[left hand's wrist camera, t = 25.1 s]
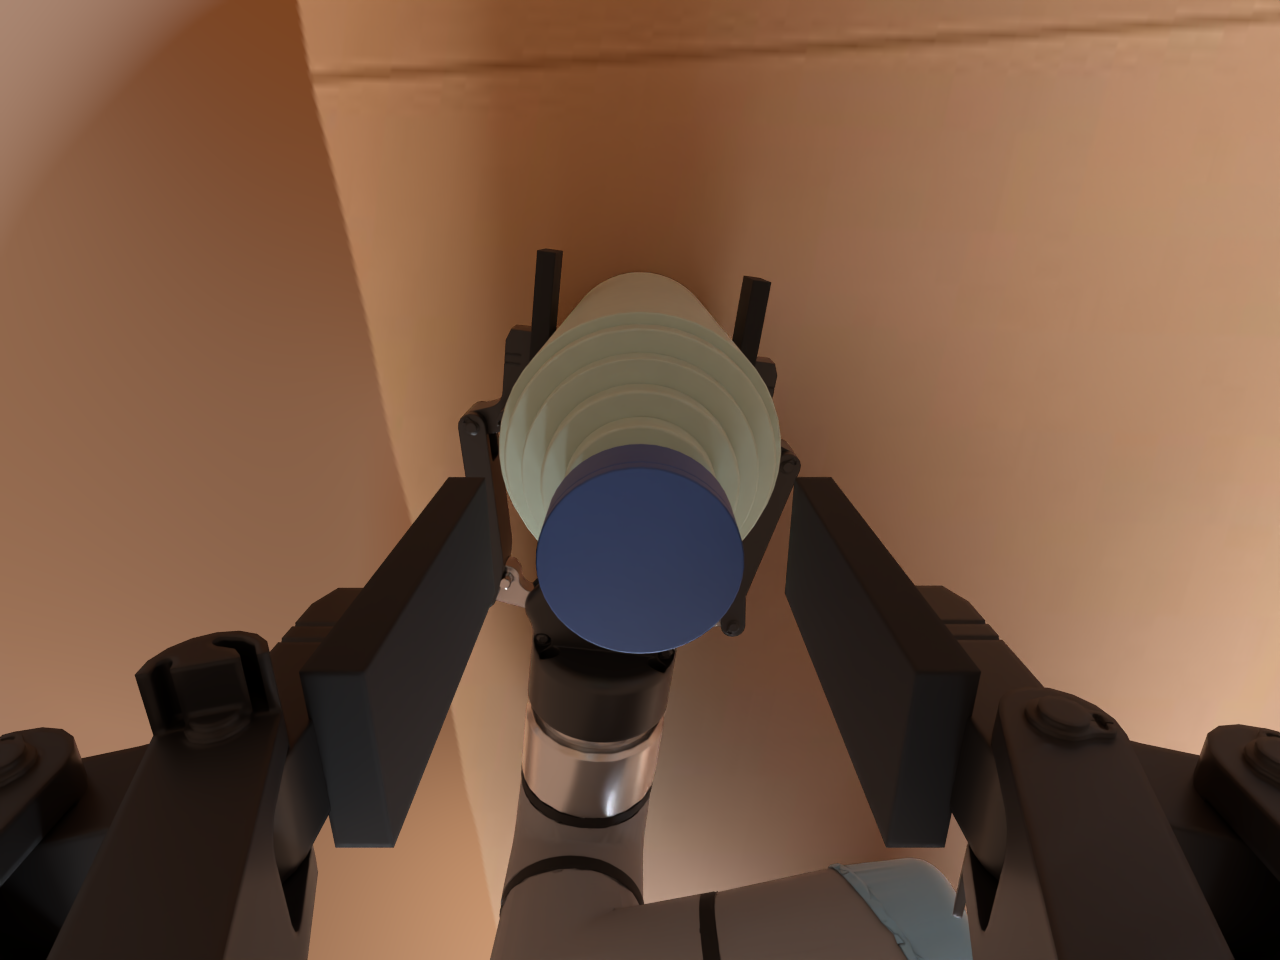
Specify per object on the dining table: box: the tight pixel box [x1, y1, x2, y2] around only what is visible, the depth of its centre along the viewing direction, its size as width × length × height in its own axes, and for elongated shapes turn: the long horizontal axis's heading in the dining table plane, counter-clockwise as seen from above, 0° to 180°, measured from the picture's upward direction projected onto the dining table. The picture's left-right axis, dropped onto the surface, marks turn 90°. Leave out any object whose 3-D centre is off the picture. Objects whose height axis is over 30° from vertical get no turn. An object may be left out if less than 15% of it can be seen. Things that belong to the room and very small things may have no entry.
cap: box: [536, 444, 744, 654], centre depth 14 cm, size 4×4×2 cm
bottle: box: [499, 272, 781, 541], centre depth 25 cm, size 8×8×24 cm
